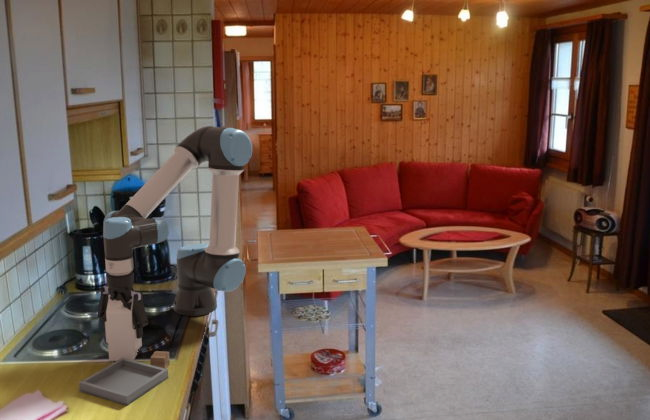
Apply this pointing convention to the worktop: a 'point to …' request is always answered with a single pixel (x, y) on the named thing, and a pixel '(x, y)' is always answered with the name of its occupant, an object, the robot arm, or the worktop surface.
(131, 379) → the tray
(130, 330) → the milk carton
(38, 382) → the worktop surface
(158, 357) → the walnut block
